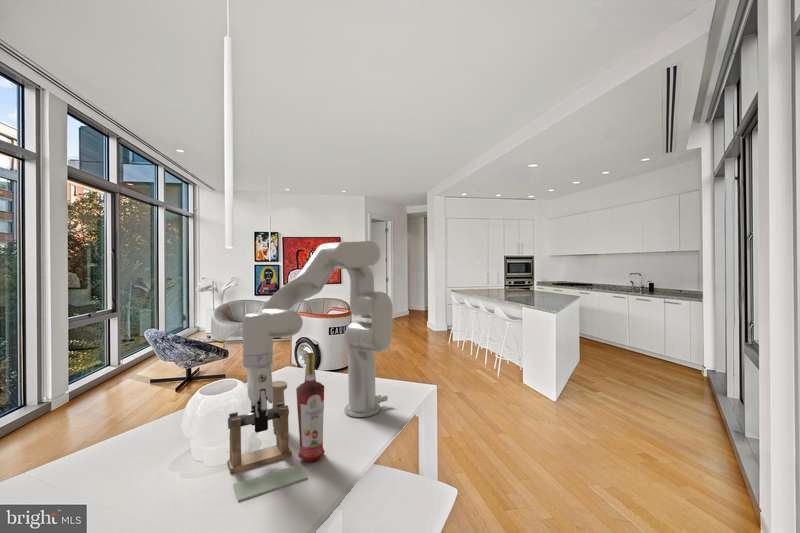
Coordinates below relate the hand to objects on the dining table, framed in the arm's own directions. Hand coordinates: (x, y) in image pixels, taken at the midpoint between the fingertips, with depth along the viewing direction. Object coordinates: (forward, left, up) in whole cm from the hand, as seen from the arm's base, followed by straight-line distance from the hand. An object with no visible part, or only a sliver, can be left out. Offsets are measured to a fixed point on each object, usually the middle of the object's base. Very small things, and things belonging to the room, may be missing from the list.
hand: (259, 426), depth 97 cm
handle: (-9, -14, -9) cm, 19 cm away
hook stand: (0, 0, -9) cm, 9 cm away
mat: (0, +12, -9) cm, 15 cm away
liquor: (-12, +7, -9) cm, 16 cm away
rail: (0, 0, +3) cm, 3 cm away
